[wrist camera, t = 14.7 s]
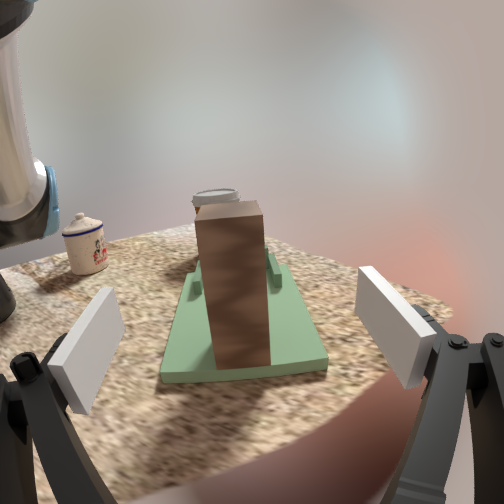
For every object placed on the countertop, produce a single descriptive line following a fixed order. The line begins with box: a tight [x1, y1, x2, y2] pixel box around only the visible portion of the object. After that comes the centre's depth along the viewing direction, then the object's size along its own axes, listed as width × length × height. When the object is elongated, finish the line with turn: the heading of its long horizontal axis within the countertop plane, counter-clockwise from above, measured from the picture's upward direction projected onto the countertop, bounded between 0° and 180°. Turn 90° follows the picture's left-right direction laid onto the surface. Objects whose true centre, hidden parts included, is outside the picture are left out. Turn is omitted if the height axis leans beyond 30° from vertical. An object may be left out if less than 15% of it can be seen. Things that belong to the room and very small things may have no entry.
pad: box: [160, 245, 329, 383], centre depth 38 cm, size 16×24×5 cm, turn 4°
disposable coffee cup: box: [192, 188, 240, 214], centre depth 62 cm, size 10×10×12 cm
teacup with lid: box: [62, 213, 109, 275], centre depth 59 cm, size 12×9×12 cm
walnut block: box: [195, 200, 271, 370], centre depth 28 cm, size 5×6×14 cm
